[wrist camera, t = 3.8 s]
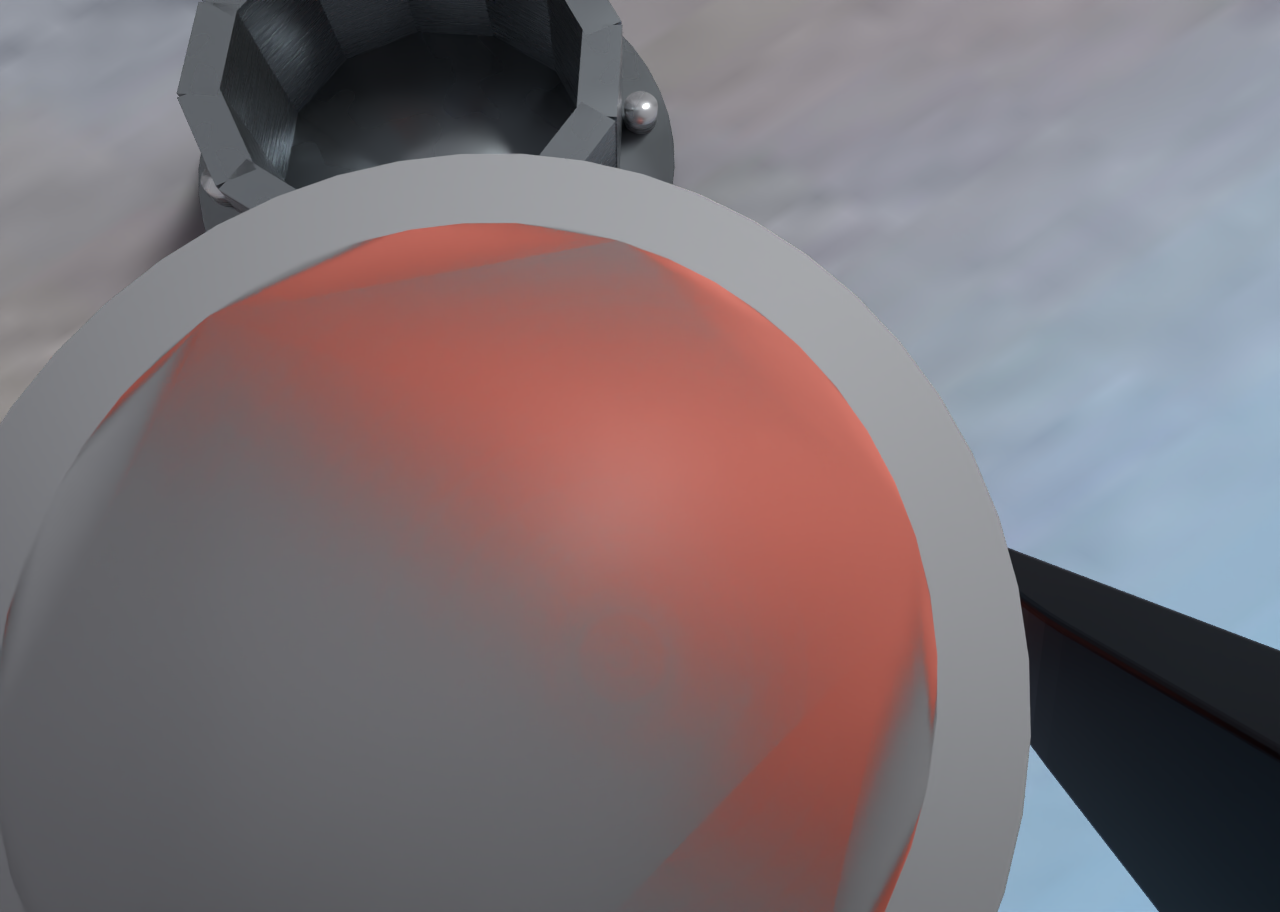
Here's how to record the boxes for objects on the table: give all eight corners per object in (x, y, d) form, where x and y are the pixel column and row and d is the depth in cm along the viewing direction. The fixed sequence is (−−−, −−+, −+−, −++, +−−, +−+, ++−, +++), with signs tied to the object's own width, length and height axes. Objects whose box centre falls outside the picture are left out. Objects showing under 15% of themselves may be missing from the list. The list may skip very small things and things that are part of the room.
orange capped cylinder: (626, 866, 15) (647, 1699, 3) (385, 696, 16) (-375, 822, 4) (776, 608, 16) (1198, 473, 4) (547, 463, 17) (373, 5, 5)
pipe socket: (503, 481, 17) (468, 430, 13) (123, 237, 18) (-10, 125, 15) (753, 126, 20) (785, -4, 16) (404, -65, 21) (355, -229, 17)
